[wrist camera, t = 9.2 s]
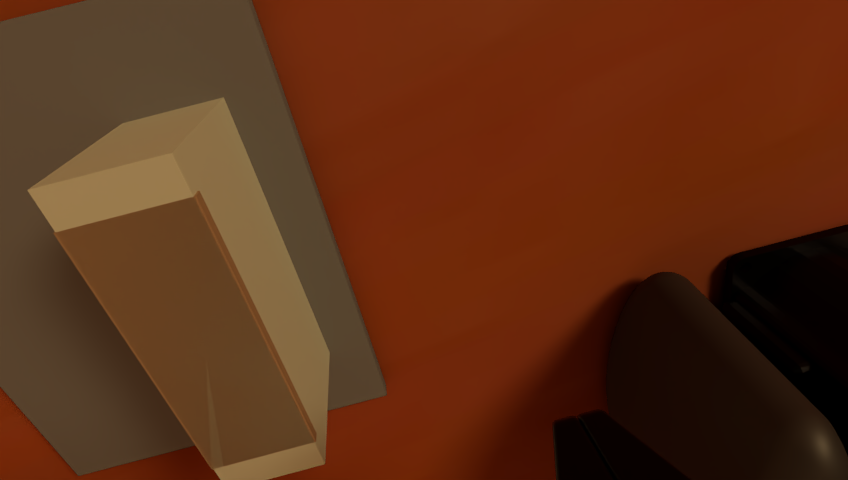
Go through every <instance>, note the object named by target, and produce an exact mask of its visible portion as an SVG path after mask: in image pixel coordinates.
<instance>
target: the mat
mask: <svg viewBox="0 0 848 480" xmlns="http://www.w3.org/2000/svg"><path fill="white" fill-rule="evenodd" d="M223 97H224V99H225V102H226V104H227V106H228V109H229V111H230V114H231V116H232V118H233V121H234V123H235V126H236V128H237V131H238V133H239V135H240V138H241V140H242V143H243V145H244V147H245V150H246V152H247V155H248V157H249V159H250V162H251V164H252V167H253V169H254V172H255V174H256V176H257V179H258V181H259V184H260V186H261V188H262V191H263V193H264V196H265V198H266V200H267V203H268V205H269V208H270V210H271V213H272V215H273V217H274V220H275V222H276V225H277V227H278V229H279V232H280V234H281V237H282V239H283V241H284V244H285V246H286V249H287V251H288V254H289V256H290V258H291V261H292V263H293V266H294V268H295V270H296V273H297V275H298V278H299V280H300V282H301V285H302V287H303V290H304V292H305V295H306V297H307V299H308V302H309V304H310V307H311V309H312V311H313V314H314V316H315V319H316V321H317V323H318V326H319V328H320V331H321V333H322V335H323V338H324V340H325V343H326V345H327V348H328V350H329V352H330V359H329V383H328V408H327V411H328V410H332V409H336V408H340V407H344V406H347V405H351V404H355V403H359V402H363V401H366V400H370V399H374V398H378V397H382V396H386V395H387V392H386V384H385V381H384V378H383V375H382V372H381V369H380V367H379V364H378V361H377V358H376V355H375V352H374V349H373V347H372V344H371V341H370V338H369V335H368V332H367V329H366V326H365V324H364V321H363V318H362V315H361V312H360V309H359V306H358V304H357V301H356V298H355V295H354V292H353V289H352V286H351V283H350V281H349V278H348V275H347V272H346V269H345V266H344V263H343V261H342V258H341V255H340V252H339V249H338V246H337V243H336V240H335V238H334V235H333V232H332V229H331V226H330V223H329V220H328V217H327V215H326V212H325V209H324V206H323V203H322V200H321V197H320V195H319V192H318V189H317V186H316V183H315V180H314V177H313V174H312V172H311V169H310V166H309V163H308V160H307V157H306V154H305V152H304V149H303V146H302V143H301V140H300V137H299V134H298V131H297V129H296V126H295V123H294V120H293V117H292V114H291V111H290V109H289V106H288V103H287V100H286V97H285V94H284V91H283V88H282V86H281V83H280V80H279V77H278V74H277V71H276V68H275V66H274V63H273V60H272V57H271V54H270V51H269V48H268V45H267V43H266V40H265V37H264V34H263V31H262V28H261V25H260V23H259V20H258V17H257V14H256V11H255V8H254V5H253V2H252V0H86V1H82V2H78V3H74V4H70V5H66V6H62V7H58V8H54V9H50V10H46V11H42V12H38V13H34V14H30V15H26V16H22V17H18V18H14V19H9V20H5V21H1V22H0V387H1V388H2V389H3V390H4V391H5V393H6V394H7V395H8V396H9V397H10V398H11V399H12V401H13V402H14V403H15V404H16V405H17V406H18V407H19V409H20V410H21V411H22V412H23V413H24V414H25V415H26V417H27V418H28V419H29V420H30V421H31V422H32V423H33V425H34V426H35V427H36V428H37V429H38V430H39V431H40V433H41V434H42V435H43V436H44V437H45V438H46V439H47V441H48V442H49V443H50V444H51V445H52V446H53V447H54V449H55V450H56V451H57V452H58V453H59V454H60V455H61V457H62V458H63V459H64V460H65V461H66V462H67V463H68V465H69V466H70V467H71V468H72V469H73V470H74V471H75V473H76V474H77V475H78V476H80V475H84V474H88V473H92V472H95V471H99V470H103V469H107V468H111V467H114V466H118V465H122V464H126V463H130V462H134V461H137V460H141V459H145V458H149V457H153V456H156V455H160V454H164V453H168V452H172V451H176V450H179V449H183V448H187V447H191V446H195V444H194V442H193V441H192V439H191V438H190V436H189V435H188V433H187V432H186V430H185V429H184V427H183V426H182V424H181V423H180V421H179V420H178V418H177V417H176V416H175V414H174V413H173V411H172V410H171V408H170V407H169V405H168V404H167V402H166V401H165V399H164V398H163V396H162V395H161V393H160V392H159V390H158V389H157V387H156V386H155V384H154V383H153V381H152V380H151V378H150V377H149V375H148V374H147V372H146V371H145V369H144V368H143V366H142V365H141V363H140V362H139V360H138V359H137V357H136V356H135V354H134V353H133V351H132V350H131V348H130V347H129V345H128V344H127V342H126V341H125V339H124V338H123V336H122V335H121V334H120V332H119V331H118V329H117V328H116V326H115V325H114V323H113V322H112V320H111V319H110V317H109V316H108V314H107V313H106V311H105V310H104V308H103V307H102V305H101V304H100V302H99V301H98V299H97V298H96V296H95V295H94V293H93V292H92V290H91V289H90V287H89V286H88V284H87V283H86V281H85V280H84V278H83V277H82V275H81V274H80V272H79V271H78V269H77V268H76V266H75V265H74V263H73V262H72V260H71V259H70V257H69V256H68V254H67V253H66V251H65V250H64V249H63V247H62V246H61V244H60V243H59V241H58V240H57V238H56V237H55V235H54V234H53V233H54V232H55V231H54V230H53V228H52V227H51V225H50V224H49V222H48V221H47V219H46V218H45V216H44V215H43V213H42V212H41V210H40V209H39V207H38V206H37V204H36V203H35V201H34V200H33V198H32V197H31V195H30V194H29V192H28V191H27V190H28V189H30V188H31V187H32V186H34V185H35V184H37V183H38V182H40V181H41V180H42V179H44V178H45V177H47V176H48V175H49V174H51V173H52V172H54V171H55V170H57V169H58V168H59V167H61V166H62V165H64V164H65V163H67V162H68V161H69V160H71V159H72V158H74V157H75V156H77V155H78V154H79V153H81V152H82V151H84V150H85V149H86V148H88V147H89V146H91V145H92V144H94V143H95V142H96V141H98V140H99V139H101V138H102V137H104V136H105V135H106V134H108V133H109V132H111V131H112V130H113V129H115V128H116V127H118V126H119V125H121V124H122V123H126V122H129V121H133V120H137V119H141V118H145V117H149V116H153V115H157V114H161V113H164V112H168V111H172V110H176V109H180V108H184V107H188V106H192V105H196V104H200V103H203V102H207V101H211V100H215V99H219V98H223Z"/></svg>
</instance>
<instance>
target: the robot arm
mask: <svg viewBox="0 0 848 480" xmlns="http://www.w3.org/2000/svg"><path fill="white" fill-rule="evenodd" d="M742 264H743V265H742ZM741 265H742V266H741ZM740 266H741V267H740ZM722 314H723V315H724V316H725V317H726V318H727V319H728V320H729V321H730V322H731V323H732V324H733V325H734V326H735V327H736V328H737V329H738V330H739V331H740V332H741V333H742V334H743V335H744V336H745V337H746V338H747V339H748V340H749V341H750V342H751V343H752V344H753V345H754V346H755V347H756V348H757V349H758V350H759V351H760V352H761V353H762V354H763V355H764V356H765V357H766V358H767V359H768V360H769V361H770V362H771V363H772V364H773V365H774V366H775V367H776V368H777V369H778V370H779V371H780V372H781V373H782V374H783V375H784V376H785V377H786V378H787V379H788V380H789V381H790V382H791V383H792V384H793V385H794V386H795V387H796V388H797V389H798V390H799V391H800V392H801V393H802V394H803V395H804V396H805V397H806V398H807V399H808V400H809V401H810V402H811V403H812V404H813V405H814V406H815V407H816V408H817V409H818V410H819V411H820V412H821V413H822V414H823V415H824V416H825V417H826V418H827V419H828V421H829V422H830V423H831V425H832V426H833V428H834V429H835V431H836V433H837V435H838V436H839V438H840V440H841V442H842V444H843V446H844V448H845V451H846V453H847V456H848V225H844V226H840V227H836V228H833V229H829V230H825V231H821V232H817V233H813V234H809V235H806V236H802V237H798V238H794V239H790V240H786V241H783V242H779V243H775V244H771V245H767V246H763V247H760V248H756V249H752V250H748V251H744V252H740V253H738V254H735V255H734V256H733V257H731V259H730V260H729V261H728V264H727V269H726V279H725V289H724V299H723V308H722ZM553 439H554V454H555V469H556V480H691V479H690V478H689V477H688V476H686V475H685V474H684V473H682V472H681V471H680V470H679V469H677V468H676V467H675V466H674V465H672V464H671V463H670V462H668V461H667V460H666V459H665V458H663V457H662V456H661V455H659V454H658V453H657V452H656V451H654V450H653V449H652V448H650V447H649V446H648V445H647V444H645V443H644V442H643V441H641V440H640V439H639V438H638V437H636V436H635V435H634V434H632V433H631V432H630V431H629V430H627V429H626V428H625V427H623V426H622V425H621V424H620V423H618V422H617V421H616V420H615V419H613V418H612V417H611V416H609V415H608V414H607V413H606V412H604V411H602V410H599V409H598V410H593V411H589V412H585V413H581V414H579V415H578V416H577V418H576V417H575V416H570V417H566V418H562V419H558V420H555V421H554V422H553Z"/></svg>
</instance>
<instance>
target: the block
mask: <svg viewBox="0 0 848 480" xmlns="http://www.w3.org/2000/svg"><path fill="white" fill-rule="evenodd" d="M27 191H28V192H29V194H30V195H31V197H32V198H33V200H34V201H35V203H36V204H37V206H38V207H39V209H40V210H41V212H42V213H43V215H44V216H45V218H46V219H47V221H48V222H49V224H50V225H51V227H52V228H53V230H54V231H55V232H54V233H53V234H54V235H55V237H56V238H57V240H58V241H59V243H60V244H61V246H62V247H63V249H64V250H65V251H66V253H67V254H68V256H69V257H70V259H71V260H72V262H73V263H74V265H75V266H76V268H77V269H78V271H79V272H80V274H81V275H82V277H83V278H84V280H85V281H86V283H87V284H88V286H89V287H90V289H91V290H92V292H93V293H94V295H95V296H96V298H97V299H98V301H99V302H100V304H101V305H102V307H103V308H104V310H105V311H106V313H107V314H108V316H109V317H110V319H111V320H112V322H113V323H114V325H115V326H116V328H117V329H118V331H119V332H120V334H121V335H122V336H123V338H124V339H125V341H126V342H127V344H128V345H129V347H130V348H131V350H132V351H133V353H134V354H135V356H136V357H137V359H138V360H139V362H140V363H141V365H142V366H143V368H144V369H145V371H146V372H147V374H148V375H149V377H150V378H151V380H152V381H153V383H154V384H155V386H156V387H157V389H158V390H159V392H160V393H161V395H162V396H163V398H164V399H165V401H166V402H167V404H168V405H169V407H170V408H171V410H172V411H173V413H174V414H175V416H176V417H177V418H178V420H179V421H180V423H181V424H182V426H183V427H184V429H185V430H186V432H187V433H188V435H189V436H190V438H191V439H192V441H193V442H194V444H195V445H196V447H197V448H198V450H199V451H200V453H201V454H202V456H203V457H204V459H205V460H206V462H207V463H208V465H209V466H210V468H211V469H214V471H215V472H216V474H217V475H218V477H219V478H220V480H268V479H271V478H275V477H279V476H282V475H286V474H290V473H294V472H297V471H301V470H305V469H309V468H312V467H316V466H320V465H324V464H325V457H326V432H327V408H328V383H329V359H330V352H329V350H328V348H327V345H326V343H325V340H324V338H323V335H322V333H321V331H320V328H319V326H318V323H317V321H316V319H315V316H314V314H313V311H312V309H311V307H310V304H309V302H308V299H307V297H306V295H305V292H304V290H303V287H302V285H301V282H300V280H299V278H298V275H297V273H296V270H295V268H294V266H293V263H292V261H291V258H290V256H289V254H288V251H287V249H286V246H285V244H284V241H283V239H282V237H281V234H280V232H279V229H278V227H277V225H276V222H275V220H274V217H273V215H272V213H271V210H270V208H269V205H268V203H267V200H266V198H265V196H264V193H263V191H262V188H261V186H260V184H259V181H258V179H257V176H256V174H255V172H254V169H253V167H252V164H251V162H250V159H249V157H248V155H247V152H246V150H245V147H244V145H243V143H242V140H241V138H240V135H239V133H238V131H237V128H236V126H235V123H234V121H233V118H232V116H231V114H230V111H229V109H228V106H227V104H226V102H225V99H224V97H223V98H219V99H215V100H211V101H207V102H203V103H200V104H196V105H192V106H188V107H184V108H180V109H176V110H172V111H168V112H164V113H161V114H157V115H153V116H149V117H145V118H141V119H137V120H133V121H129V122H126V123H122V124H121V125H119V126H118V127H116V128H115V129H113V130H112V131H111V132H109V133H108V134H106V135H105V136H104V137H102V138H101V139H99V140H98V141H96V142H95V143H94V144H92V145H91V146H89V147H88V148H86V149H85V150H84V151H82V152H81V153H79V154H78V155H77V156H75V157H74V158H72V159H71V160H69V161H68V162H67V163H65V164H64V165H62V166H61V167H59V168H58V169H57V170H55V171H54V172H52V173H51V174H49V175H48V176H47V177H45V178H44V179H42V180H41V181H40V182H38V183H37V184H35V185H34V186H32V187H31V188H30V189H28V190H27Z"/></svg>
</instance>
